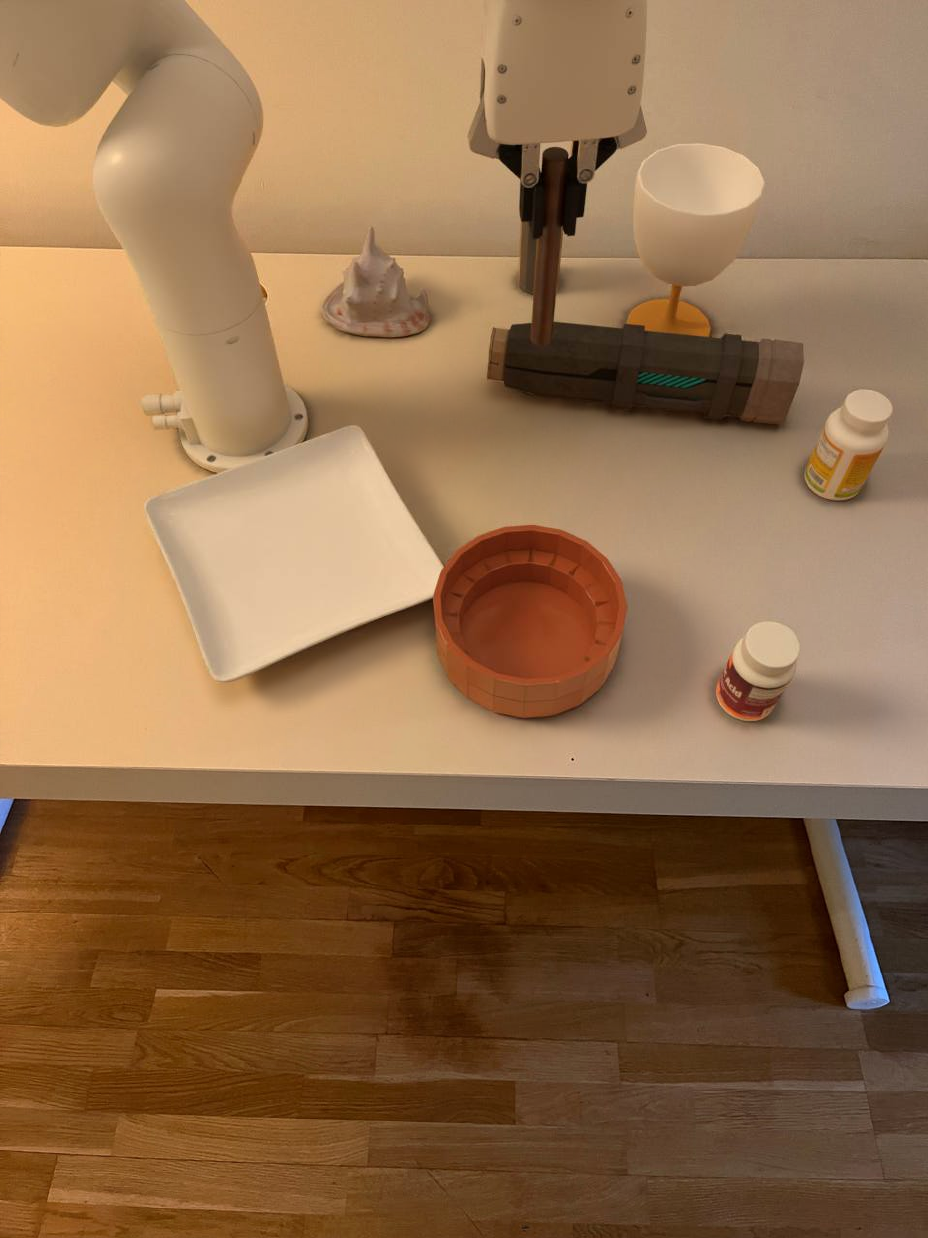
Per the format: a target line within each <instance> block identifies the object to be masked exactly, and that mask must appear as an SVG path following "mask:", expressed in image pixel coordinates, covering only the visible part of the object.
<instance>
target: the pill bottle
mask: <svg viewBox="0 0 928 1238" xmlns="http://www.w3.org/2000/svg"><path fill="white" fill-rule="evenodd" d="M800 654H801V644H800V640H799V638H798V636H797V635H796V633H795V632H794V631H793V630H792V629H790V627H788V626H786V625H785V624H783V623H781V622H777V621H771V620H770V621H769V620H766V621H759V622H757V623H755V624H753V625H752V626H751V627H750V628H749V629H748V630H747V632H746V633H745V635H744V636H743V637H742V638H740V639H739V640H738V641H737V642H736V644H735V646H734V648H733V649H732V651H731V654H729V655H730V656H729V658H728V659H727V662H726V664H725V665H724V668H723V671H722V673H721V675H720V678H719V679H718V681H717V684H716V688H715V693H716V699H717V702H718V704H719V706H720V707H721V709H722V710H723V711H724V712H725V713H727V714H728V715H729V716H731V717H732V718H734V719H737V720H740V721H745V722H757V721H759V720H763V719H765V718H766V717H768V715H770V714H771V713H772V711H773V710H774V708H775V707H776V705H777V704H778V702H779V700H780V699H781V697H782V696H783V694H784V692H785V691H786V689H787V687H788V686H789V684H790V682H791V681H792V680H793V678H794V676H795V674H796V671H797V660H798V658H799V657H800Z"/></svg>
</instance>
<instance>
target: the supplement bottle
mask: <svg viewBox="0 0 928 1238" xmlns="http://www.w3.org/2000/svg"><path fill="white" fill-rule="evenodd" d="M893 410H894V408H893V404H892V403H891V401H890V399H888V397H887V396H885V395H884V394H883V393H880V392H878V391H876V390H873V389H866V388H865V389H857V390H856V389H855V390H854V391H851V392H850V393H849V394H847V396H846V397H845V399H844V401H843V403H842V404H841V407H838V408H836V409H835V410H833V411H832V412H831V413H830V414H829V416H828V417H827V419H826V421H825V423H824V425H823V428H822V430H821V433H820V434H819V438H818V440H817V442H816V444H815V446H814V449H813V450H812V453H811V455H810V458H809V459H808V462H807V464H806V467H805V468H804V469H805V470H804V480H805V483H806V485H807V487H808V488H809V490H811V492H813V493H814V494H816V495H817V496H819V497H821V498H823V499H827V500H830V501H846V500H850V499H852V498H854V497H855V496H857V495H858V494H859V493H860V492H861V490H862V488H863V487H864V485H865V483H866V481H867V479H868V478H869V476H870V474H871V472H872V470H873V468H874V466H875V465H876V463H877V461H878V459H879V457H880V455H881V454H882V451H883V450H884V448H885V446H886V444H887V441H888V439H889V435H890V432H889V431H890V430H889V426H888V423H889V420H890V419H891V416H892V415H893Z"/></svg>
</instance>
